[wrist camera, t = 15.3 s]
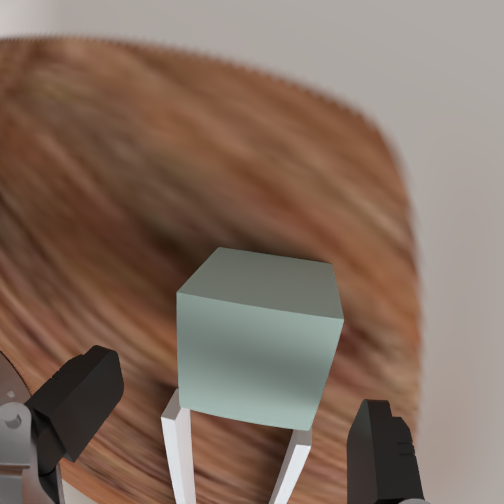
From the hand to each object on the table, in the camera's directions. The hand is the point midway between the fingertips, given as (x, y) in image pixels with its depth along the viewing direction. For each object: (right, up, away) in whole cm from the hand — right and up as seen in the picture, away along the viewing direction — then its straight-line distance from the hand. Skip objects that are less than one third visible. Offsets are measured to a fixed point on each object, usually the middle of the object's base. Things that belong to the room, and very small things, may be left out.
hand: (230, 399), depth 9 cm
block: (+1, +2, +6) cm, 6 cm away
